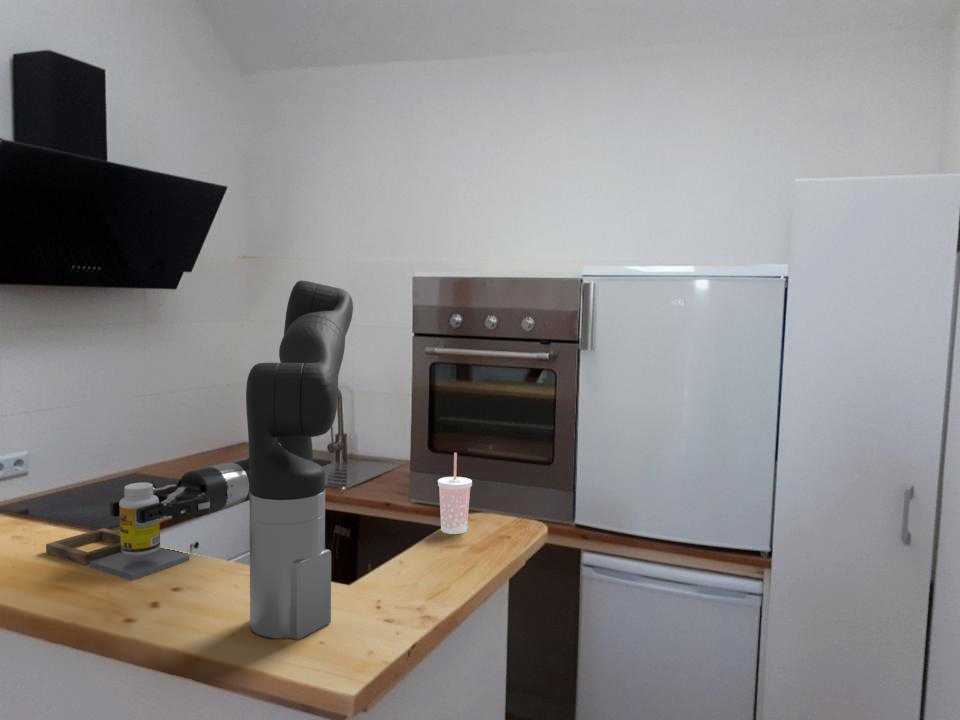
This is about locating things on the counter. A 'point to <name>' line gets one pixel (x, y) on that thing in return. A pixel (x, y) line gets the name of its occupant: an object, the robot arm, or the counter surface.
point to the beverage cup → (454, 502)
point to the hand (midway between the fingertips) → (124, 513)
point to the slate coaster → (139, 563)
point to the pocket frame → (67, 546)
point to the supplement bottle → (132, 533)
